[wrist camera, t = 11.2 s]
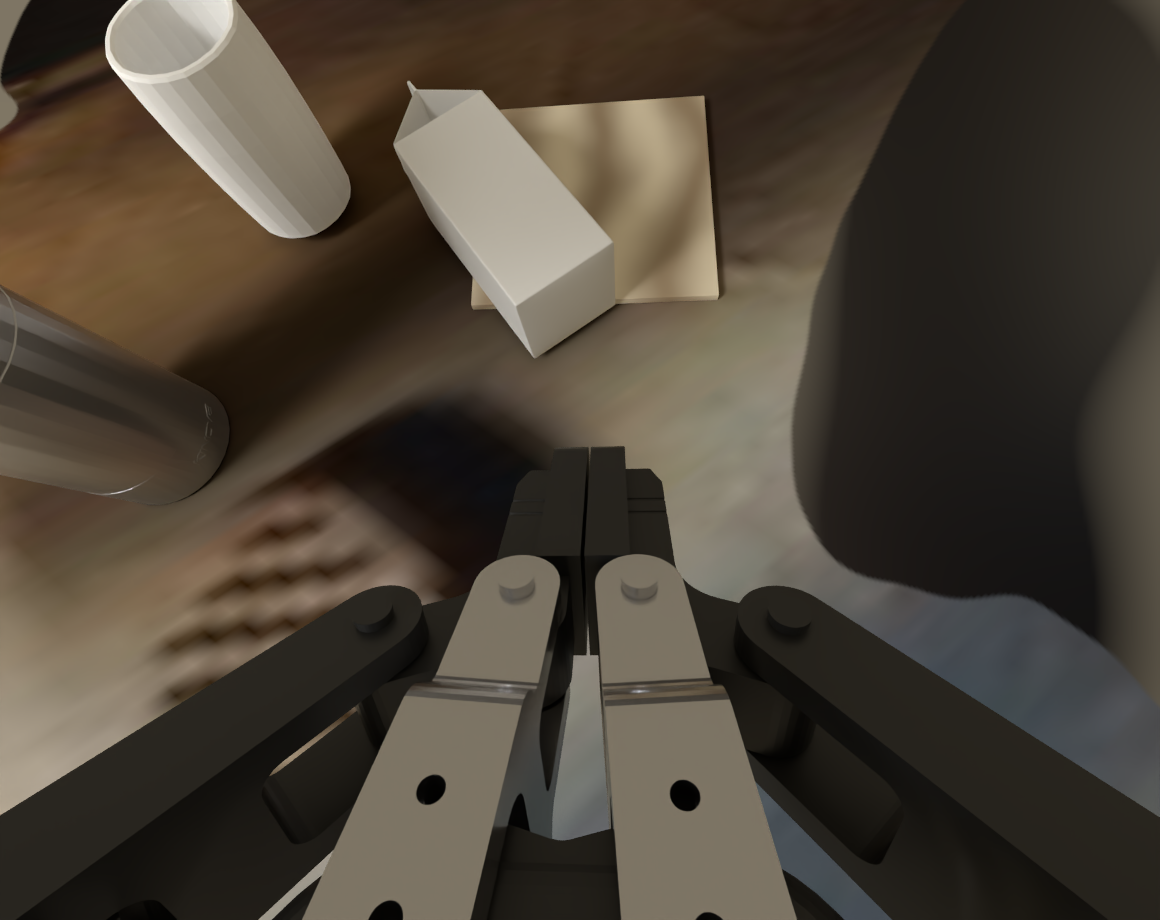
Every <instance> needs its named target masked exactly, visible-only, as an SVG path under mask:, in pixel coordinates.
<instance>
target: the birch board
mask: <svg viewBox="0 0 1160 920" xmlns="http://www.w3.org/2000/svg"><path fill="white" fill-rule="evenodd" d="M499 111H500V112H501V113H502V114H503V115H504V116H505V118H506V119H507V120H508V121H509V122H510V123H511V124H512V126H513V127H514V128H515V129H516V130H517V131H518V133H519V134H520V135H521V136H522V137H523V138H524V139H525V141H526V142H527V143H528V144H529V145H530V146H531V147H532V149H533V150H534V151H535V152H536V153H537V154H538V156H539V157H540V158H541V159H542V160H543V161H544V162H545V164H546V165H547V166H548V167H549V168H550V169H551V170H552V172H553V173H554V174H555V175H556V176H557V177H558V179H559V180H560V181H561V182H562V183H563V184H564V185H565V187H566V188H567V189H568V190H569V191H570V192H571V193H572V195H573V196H574V197H575V198H576V199H577V200H578V202H579V203H580V204H581V205H582V206H583V207H584V208H585V210H586V211H587V212H588V213H589V214H590V215H591V216H592V218H593V219H594V220H595V221H596V222H597V223H598V225H599V226H600V227H601V228H602V229H603V230H604V231H605V233H606V234H607V235H608V236H609V237H610V238H611V240H612V241H613V243H614V265H615V304H625V303H650V302H675V301H699V300H717V299H718V296H719V290H718V277H717V263H716V250H715V236H714V223H713V210H712V196H711V183H710V169H709V156H708V142H707V129H706V115H705V102H704V96H693V97H678V98H664V99H649V100H635V101H620V102H606V103H591V104H577V105H562V106H548V107H533V108H519V109H504V110H499ZM471 306H472V308H473V310H477V309H497V308H496V307H495V306H494V304H493V303H492V302H491V300H490V299H489V298H488V296H487V295H486V294H485V292H484V291H483V290H482V288H481V287H480V286H479V284H478V283H477V282H476V280H475V279H474V278H473V283H472V300H471Z"/></svg>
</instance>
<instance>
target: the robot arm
mask: <svg viewBox="0 0 1160 920" xmlns="http://www.w3.org/2000/svg"><path fill="white" fill-rule="evenodd" d="M229 431H230V428H229V421H228V416H227V414H226V411H225V409H224V406H223V405H222V404H221V402H220V401H219V400H218V398H217V397H216V396H214V395H213V394H212V393H211V392H209V391H208V390H206V389H204V388H202V387H200V386H198V385H196V384H194V383H192V382H190V381H188V380H186V379H184V378H182V377H180V376H178V375H176V374H174V373H172V372H170V371H168V370H166V369H165V368H163V367H161V366H159V365H157V364H155V363H153V362H151V361H149V360H147V359H145V358H143V357H141V356H139V355H138V354H136V353H134V352H132V351H130V350H128V349H126V348H124V347H122V346H120V345H118V344H116V343H114V342H112V341H110V340H108V339H106V338H104V337H102V336H100V335H98V334H96V333H94V332H92V331H90V330H88V329H86V328H84V327H82V326H80V325H78V324H76V323H75V322H73V321H71V320H69V319H67V318H65V317H63V316H61V315H59V314H57V313H55V312H53V311H51V310H49V309H47V308H45V307H43V306H41V305H39V304H37V303H35V302H33V301H31V300H29V299H27V298H25V297H23V296H21V295H19V294H17V293H15V292H13V291H11V290H10V289H8V288H6V287H4V286H2V285H0V475H4V476H9V477H14V478H19V479H24V480H29V481H34V482H39V483H43V484H48V485H53V486H58V487H63V488H68V489H73V490H78V491H83V492H88V493H92V494H97V495H102V496H107V497H112V498H117V499H122V500H127V501H132V502H137V503H142V504H147V505H163V504H168V503H173V502H176V501H178V500H181V499H183V498H185V497H188V496H189V495H191V494H192V493H194V492H195V491H197V490H198V489H200V488H201V487H202V486H203V485H204V484H205V483H206V482H207V481H208V480H209V479H210V478H211V477H212V475H213V474H214V473H215V471H216V470H217V469H218V467H219V466H220V464H221V461H222V459H223V457H224V455H225V453H226V449H227V446H228V442H229ZM588 627H589V644H590V655H598V656H599V676H600V700H601V714H602V729H603V744H604V758H605V773H606V788H607V802H608V818H609V829H608V830H604V831H601V832H597V833H593V834H589V835H586V836H582V837H578V838H575V839H571V840H565V841H560V840H554V839H552V816H553V804H554V797H555V790H556V784H557V777H558V771H559V764H560V758H561V751H562V745H563V738H564V732H565V726H566V719H567V713H568V706H569V700H570V682H571V678H572V669H573V655H586V653H587V631H588ZM353 707H356V710H357V711H356V712H355V713H354V714H352V715H351V716H350V717H348V718H347V719H346V720H345V721H343V722H342V723H341V724H339V725H338V726H337V727H336V728H334V729H333V730H332V731H330V732H329V733H328V734H326V735H325V736H324V737H323V738H321V739H320V740H319V741H317V742H316V743H315V744H314V745H312V746H311V747H310V748H308V749H307V750H306V751H305V752H303V753H302V754H301V755H299V756H298V757H297V758H295V759H294V760H293V761H292V762H290V763H289V764H288V765H286V766H285V767H284V768H283V769H281V770H280V771H278V772H277V773H275V774H273V775H271V776H269V775H270V774H271V773H272V771H273V770H274V769H275V768H276V767H277V766H278V765H279V764H280V763H282V762H283V761H284V760H285V759H287V758H288V757H289V756H291V755H292V754H293V753H294V752H296V751H297V750H298V749H300V748H301V747H302V746H304V745H305V744H306V743H308V742H309V741H310V740H311V739H313V738H314V737H315V736H317V735H318V734H319V733H321V732H322V731H323V730H325V729H326V728H327V727H328V726H330V725H331V724H332V723H334V722H335V721H336V720H338V719H339V718H340V717H342V716H343V715H344V714H345V713H347V712H348V711H349V710H351V709H352V708H353ZM268 776H269V777H268ZM755 782H756V783H757V784H758V785H759V786H760V787H761V788H762V789H763V790H764V791H765V792H766V793H767V794H768V795H769V796H770V797H771V798H772V799H773V800H774V801H775V802H776V803H777V804H778V805H779V806H780V807H781V808H782V809H783V810H784V811H785V812H786V813H787V814H788V815H789V816H790V817H791V818H792V819H793V820H794V821H795V822H796V823H797V824H798V825H799V826H800V827H801V828H802V829H803V830H804V831H805V832H806V833H807V834H808V835H809V836H810V837H811V838H812V839H813V840H814V841H815V842H816V843H817V844H818V845H819V846H820V847H821V848H822V849H823V850H824V851H825V852H826V853H827V854H828V855H829V856H830V857H831V858H832V859H833V860H834V861H835V862H836V863H837V864H838V865H839V866H840V867H841V868H842V869H843V870H844V871H845V872H846V873H847V874H848V876H849V877H850V878H851V879H852V880H853V881H854V882H855V883H856V884H857V885H858V886H859V887H860V888H861V889H862V890H863V891H864V892H865V893H866V894H867V895H868V896H869V897H870V898H871V899H872V900H873V901H874V902H875V903H876V904H877V905H878V906H879V907H880V908H881V909H882V910H883V911H884V912H885V913H886V914H887V915H888V916H889V917H890V918H891V919H892V920H1160V817H1158V816H1157V815H1155V814H1154V813H1152V812H1150V811H1149V810H1147V809H1146V808H1144V807H1143V806H1141V805H1139V804H1138V803H1136V802H1135V801H1133V800H1132V799H1130V798H1129V797H1127V796H1125V795H1124V794H1122V793H1121V792H1119V791H1118V790H1116V789H1114V788H1113V787H1111V786H1110V785H1108V784H1107V783H1105V782H1103V781H1102V780H1100V779H1099V778H1097V777H1096V776H1094V775H1093V774H1091V773H1089V772H1088V771H1086V770H1085V769H1083V768H1082V767H1080V766H1078V765H1077V764H1075V763H1074V762H1072V761H1071V760H1069V759H1068V758H1066V757H1064V756H1063V755H1061V754H1060V753H1058V752H1057V751H1055V750H1053V749H1052V748H1050V747H1049V746H1047V745H1046V744H1044V743H1043V742H1041V741H1039V740H1038V739H1036V738H1035V737H1033V736H1032V735H1030V734H1028V733H1027V732H1025V731H1024V730H1022V729H1021V728H1019V727H1018V726H1016V725H1014V724H1013V723H1011V722H1010V721H1008V720H1007V719H1005V718H1003V717H1002V716H1000V715H999V714H997V713H996V712H994V711H993V710H991V709H989V708H988V707H986V706H985V705H983V704H982V703H980V702H978V701H977V700H975V699H974V698H972V697H971V696H969V695H968V694H966V693H964V692H963V691H961V690H960V689H958V688H957V687H955V686H953V685H952V684H950V683H949V682H947V681H946V680H944V679H943V678H941V677H939V676H938V675H936V674H935V673H933V672H932V671H930V670H928V669H927V668H925V667H924V666H922V665H921V664H919V663H918V662H916V661H914V660H913V659H911V658H910V657H908V656H907V655H905V654H903V653H902V652H900V651H899V650H897V649H896V648H894V647H893V646H891V645H889V644H888V643H886V642H885V641H883V640H882V639H880V638H878V637H877V636H875V635H874V634H872V633H871V632H869V631H868V630H866V629H864V628H863V627H861V626H860V625H858V624H857V623H855V622H853V621H852V620H850V619H849V618H847V617H846V616H844V615H843V614H841V613H839V612H838V611H836V610H835V609H833V608H832V607H830V606H828V605H827V604H825V603H824V602H822V601H821V600H819V599H817V598H816V597H814V596H812V595H810V594H808V593H806V592H804V591H801V590H798V589H795V588H790V587H785V586H766V587H761V588H758V589H755V590H753V591H751V592H749V593H748V594H747V595H745V596H744V597H743V599H742V600H741V601H740V603H736V602H732V601H728V600H724V599H720V598H716V597H713V596H709V595H707V594H705V593H702V592H700V591H698V590H697V589H695V588H693V587H692V586H691V585H689V584H688V583H687V582H686V581H685V580H684V579H683V578H682V576H681V575H680V573H679V572H678V570H677V569H676V566H675V562H674V555H673V549H672V543H671V536H670V530H669V524H668V517H667V514H666V505H665V501H664V492H663V486H662V482H661V480H660V479H659V478H658V477H657V476H656V475H655V474H654V473H653V472H652V471H651V469H626V465H625V447H624V446H615V447H591V454H590V461H589V448H588V447H570V448H555V449H554V454H553V459H552V465H551V470H549V471H530V472H529V473H528V474H527V475H526V476H525V477H524V478H523V479H522V480H521V481H520V482H519V483H518V484H517V488H516V491H515V495H514V499H513V503H512V506H511V510H510V516H509V517H508V521H507V524H506V528H505V532H504V535H503V539H502V543H501V546H500V550H499V554H498V557H497V561H496V562H494V563H492V564H490V565H489V566H487V567H486V568H485V569H484V570H483V571H481V573H480V574H479V575H478V576H477V578H476V580H475V582H474V584H473V587H472V589H471V591H469V592H468V593H465V594H463V595H460V596H458V597H454V598H451V599H447V600H443V601H439V602H435V603H431V604H427V605H423V606H422V604H421V600H420V599H419V597H418V595H417V594H416V593H415V592H413V591H412V590H410V589H408V588H405V587H401V586H392V585H389V586H380V587H375V588H372V589H368V590H365V591H363V592H361V593H359V594H357V595H355V596H353V597H351V598H350V599H348V600H346V601H345V602H343V603H342V604H340V605H338V606H337V607H335V608H334V609H332V610H330V611H329V612H327V613H326V614H324V615H322V616H321V617H319V618H317V619H316V620H314V621H313V622H311V623H309V624H308V625H306V626H305V627H303V628H301V629H300V630H298V631H297V632H295V633H293V634H292V635H290V636H288V637H287V638H285V639H284V640H282V641H280V642H279V643H277V644H276V645H274V646H272V647H271V648H269V649H268V650H266V651H264V652H263V653H261V654H259V655H258V656H256V657H255V658H253V659H251V660H250V661H248V662H247V663H245V664H243V665H242V666H240V667H239V668H237V669H235V670H234V671H232V672H230V673H229V674H227V675H226V676H224V677H222V678H221V679H219V680H218V681H216V682H214V683H213V684H211V685H210V686H208V687H206V688H205V689H203V690H201V691H200V692H198V693H197V694H195V695H193V696H192V697H190V698H189V699H187V700H185V701H184V702H182V703H181V704H179V705H177V706H176V707H174V708H172V709H171V710H169V711H168V712H166V713H164V714H163V715H161V716H160V717H158V718H156V719H155V720H153V721H152V722H150V723H148V724H147V725H145V726H143V727H142V728H140V729H139V730H137V731H135V732H134V733H132V734H131V735H129V736H127V737H126V738H124V739H123V740H121V741H119V742H118V743H116V744H114V745H113V746H111V747H110V748H108V749H106V750H105V751H103V752H102V753H100V754H98V755H97V756H95V757H94V758H92V759H90V760H89V761H87V762H86V763H84V764H82V765H81V766H79V767H77V768H76V769H74V770H73V771H71V772H69V773H68V774H66V775H65V776H63V777H61V778H60V779H58V780H57V781H55V782H53V783H52V784H50V785H48V786H47V787H45V788H44V789H42V790H40V791H39V792H37V793H36V794H34V795H32V796H31V797H29V798H28V799H26V800H24V801H23V802H21V803H19V804H18V805H16V806H15V807H13V808H11V809H10V810H8V811H7V812H5V813H3V814H2V815H0V920H258V919H259V918H260V917H261V916H263V915H264V914H265V913H266V912H267V911H268V910H269V909H270V908H271V907H272V906H273V905H274V904H276V903H277V902H278V901H279V900H280V899H281V898H282V897H283V896H284V895H285V894H286V893H287V892H288V891H290V890H291V889H292V888H293V887H294V886H295V885H296V884H297V883H298V882H299V881H300V880H301V879H302V878H304V877H305V876H306V875H307V874H308V873H309V872H310V871H311V870H312V869H313V868H314V867H315V866H317V865H318V864H319V863H320V862H321V861H322V860H323V859H324V858H325V857H326V856H327V855H328V854H329V853H331V852H332V851H333V850H334V851H333V853H332V855H331V857H330V860H329V862H328V864H327V866H326V868H325V871H324V873H323V875H322V876H321V877H319V878H318V879H317V880H315V881H314V882H313V883H312V884H311V885H309V886H308V887H307V888H306V889H304V890H303V891H302V892H301V893H300V894H298V895H297V896H296V897H295V898H294V899H293V900H292V901H291V902H290V903H289V904H288V905H287V906H286V907H285V908H284V909H283V910H281V911H280V912H279V913H278V914H277V915H276V916H275V917H274V918H273V919H272V920H844V919H843V918H842V917H841V916H840V915H839V914H838V913H837V912H836V911H835V910H834V909H833V908H832V907H831V906H829V905H828V904H827V903H826V902H825V901H824V900H823V899H822V898H821V897H820V896H819V895H818V894H817V893H815V892H814V891H813V890H811V889H810V888H809V887H807V886H806V885H805V884H803V883H802V882H801V881H800V880H798V879H797V878H796V877H794V876H792V875H791V874H789V873H788V872H786V871H784V870H783V869H781V866H780V862H779V859H778V856H777V852H776V849H775V846H774V842H773V839H772V836H771V833H770V829H769V826H768V823H767V819H766V816H765V813H764V810H763V806H762V803H761V800H760V796H759V793H758V790H757V787H756V783H755Z"/></svg>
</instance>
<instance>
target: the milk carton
mask: <svg viewBox="0 0 1160 920" xmlns="http://www.w3.org/2000/svg"><path fill="white" fill-rule="evenodd" d="M407 84H408V87H409V89H410V91H411V94H412V98H411V101H410V103H409V106H408V108H407V111H406V113H405V116H404V118H403V121H402V123H401V126H400V128H399V130H398V133H397V135H396V138H395V140H394V143H393V145H394V149H395V151H396V153H397V155H398V157H399V159H400V161H401V163H402V167H403V169H404V171H405V173H406V174H407V175H408V177H409V179H410V181H411V183H412V185H413V187H414V189H415V191H416V193H417V195H418V197H419V199H420V201H421V203H422V205H423V207H424V209H425V211H426V213H427V215H428V217H429V218H430V220H431V221H432V223H433V224H434V226H435V227H436V228H437V230H438V231H439V232H440V234H441V235H442V236H443V238H444V239H445V240H446V242H447V243H448V244H449V246H450V247H451V248H452V250H453V251H454V252H455V254H456V255H457V256H458V258H459V259H460V260H461V262H462V263H463V264H464V266H465V267H466V268H467V270H468V271H469V272H470V274H471V275H472V276H473V278H474V279H475V280H476V282H477V283H478V284H479V286H480V287H481V288H482V290H483V291H484V292H485V294H486V295H487V296H488V298H489V299H490V300H491V302H492V303H493V304H494V306H495V307H496V308H497V310H498V311H499V312H500V314H501V315H502V316H503V318H504V319H505V320H506V322H507V323H508V324H509V326H510V327H511V328H512V330H513V331H514V332H515V333H516V335H517V336H518V337H519V339H520V340H521V341H522V343H523V344H524V345H525V347H526V348H527V349H528V351H529V352H530V353H531V355H532V356H533V357H534V358H537V357H538V356H540V355H541V354H543V353H544V352H546V351H547V350H549V349H550V348H552V347H553V346H555V345H556V344H558V343H559V342H561V341H562V340H564V339H565V338H567V337H568V336H570V335H571V334H573V333H574V332H576V331H577V330H579V329H580V328H582V327H583V326H584V325H586V324H587V323H589V322H590V321H592V320H593V319H595V318H596V317H598V316H599V315H601V314H602V313H604V312H605V311H607V310H608V309H610V308H611V307H613V306H614V305H615V265H614V243H613V241H612V240H611V238H610V237H609V236H608V235H607V234H606V233H605V231H604V230H603V229H602V228H601V227H600V226H599V225H598V223H597V222H596V221H595V220H594V219H593V218H592V216H591V215H590V214H589V213H588V212H587V211H586V210H585V208H584V207H583V206H582V205H581V204H580V203H579V202H578V200H577V199H576V198H575V197H574V196H573V195H572V193H571V192H570V191H569V190H568V189H567V188H566V187H565V185H564V184H563V183H562V182H561V181H560V180H559V179H558V177H557V176H556V175H555V174H554V173H553V172H552V170H551V169H550V168H549V167H548V166H547V165H546V164H545V162H544V161H543V160H542V159H541V158H540V157H539V156H538V154H537V153H536V152H535V151H534V150H533V149H532V147H531V146H530V145H529V144H528V143H527V142H526V141H525V139H524V138H523V137H522V136H521V135H520V134H519V133H518V131H517V130H516V129H515V128H514V127H513V126H512V124H511V123H510V122H509V121H508V120H507V119H506V118H505V116H504V115H503V114H502V113H501V112H500V111H499V109H498V108H497V107H496V106H495V105H494V104H493V103H492V101H491V100H490V99H489V98H488V97H487V96H486V95H485V93H484V92H483V91H482V90H417V89H416V88H415V87H414V86H413V84H412V83H411V82H410V81H408V82H407Z"/></svg>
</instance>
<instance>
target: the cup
mask: <svg viewBox="0 0 1160 920" xmlns="http://www.w3.org/2000/svg"><path fill="white" fill-rule="evenodd" d="M105 47H106V57H107V59H108V61H109V63H110V65H111V67H112V68H113V70H114V71H115V72H116V73H117V74H118V76H119V77H120V78H121V79H122V80H123V82H124V83H125V84H126V85H127V86H128V88H129V89H130V90H131V91H132V92H133V94H134V95H135V96H136V97H137V98H138V100H139V101H140V102H141V103H142V104H143V105H144V107H145V108H146V109H147V110H148V111H149V112H150V113H151V115H152V116H153V117H154V118H155V119H156V120H157V121H158V122H159V123H160V124H161V126H162V127H163V128H164V129H165V130H166V131H167V132H168V133H169V134H170V136H171V137H172V138H173V139H174V140H175V141H176V142H177V143H178V144H179V145H180V146H181V147H182V148H183V149H184V150H185V151H186V152H187V153H188V154H189V155H190V156H191V157H192V159H193V160H194V161H195V162H196V163H197V164H198V165H199V166H200V167H201V168H202V169H203V170H204V171H205V172H206V173H207V174H208V175H209V176H210V177H211V178H212V179H213V180H214V181H215V182H216V183H217V184H218V185H219V186H220V187H221V188H222V189H223V190H224V191H225V192H226V193H227V194H229V195H230V196H231V197H232V198H233V199H234V200H235V201H236V202H237V203H238V204H239V205H240V206H241V207H242V208H243V209H244V210H245V211H247V212H248V213H249V214H250V215H251V216H252V217H253V218H254V219H255V220H256V221H257V222H258V223H260V224H261V225H262V226H263V227H264V228H265V229H266V230H268V231H269V232H270V233H273V234H275V235H277V236H280V237H286V238H303V237H307V236H311V235H315V234H318V233H319V232H321V231H323V230H324V229H326V228H328V227H329V226H330V225H331V224H332V223H333V222H335V221H336V220H337V219H338V218H339V217H340V215H341V214H342V212H343V211H344V210H345V208H346V206H347V204H348V201H349V199H350V191H351V186H350V181H349V177H348V175H347V173H346V171H345V169H344V167H343V165H342V164H341V162H340V160H339V158H338V156H337V155H336V153H335V151H334V149H333V148H332V146H331V144H330V142H329V141H328V139H327V137H326V135H325V134H324V132H323V130H322V129H321V127H320V125H319V124H318V122H317V120H316V119H315V117H314V115H313V114H312V112H311V110H310V109H309V107H308V105H307V104H306V102H305V101H304V99H303V97H302V96H301V94H300V93H299V91H298V89H297V88H296V86H295V85H294V83H293V81H292V80H291V78H290V77H289V75H288V73H287V72H286V70H285V69H284V67H283V66H282V64H281V63H280V61H279V60H278V59H277V57H276V56H275V54H274V53H273V51H272V50H271V48H270V47H269V45H268V44H267V42H266V41H265V40H264V38H263V37H262V35H261V34H260V32H259V31H258V30H257V28H256V27H255V26H254V24H253V23H252V22H251V20H250V19H249V18H248V16H247V15H246V14H245V12H244V11H243V10H242V8H241V7H240V5H239V4H238V3H237V1H236V0H128V1H127V2H126V3H125V4H124V5H123V6H122V8H121V9H120V10H119V11H118V12H117V13H116V14H115V16H114V18H113V19H112V21H111V22H110V24H109V26H108V28H107V33H106V38H105Z"/></svg>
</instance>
